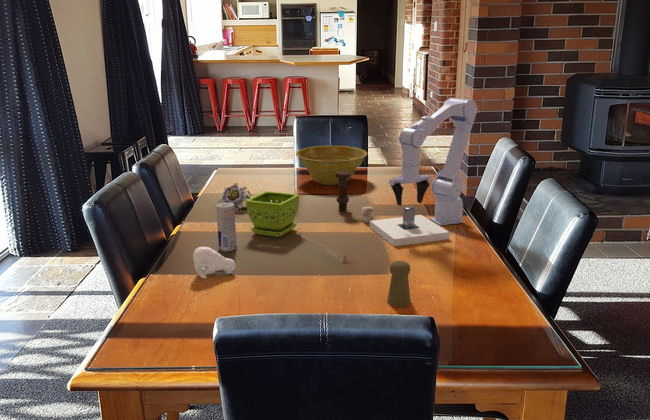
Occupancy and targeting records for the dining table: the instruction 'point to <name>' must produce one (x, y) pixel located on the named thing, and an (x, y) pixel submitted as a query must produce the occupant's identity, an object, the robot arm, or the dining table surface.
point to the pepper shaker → (399, 284)
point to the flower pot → (273, 213)
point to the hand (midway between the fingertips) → (409, 203)
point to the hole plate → (409, 231)
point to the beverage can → (226, 226)
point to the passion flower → (235, 195)
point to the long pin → (408, 217)
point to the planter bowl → (330, 161)
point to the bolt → (342, 190)
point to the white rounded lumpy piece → (211, 262)
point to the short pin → (367, 214)
